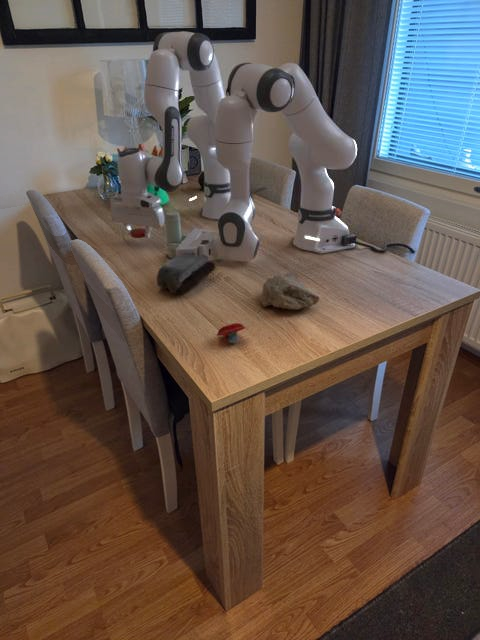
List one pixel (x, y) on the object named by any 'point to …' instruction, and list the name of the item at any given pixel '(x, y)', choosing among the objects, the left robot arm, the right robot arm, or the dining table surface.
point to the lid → (138, 233)
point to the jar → (173, 230)
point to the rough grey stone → (287, 293)
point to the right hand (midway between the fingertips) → (172, 241)
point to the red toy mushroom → (231, 331)
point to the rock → (184, 272)
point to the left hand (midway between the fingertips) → (139, 236)
